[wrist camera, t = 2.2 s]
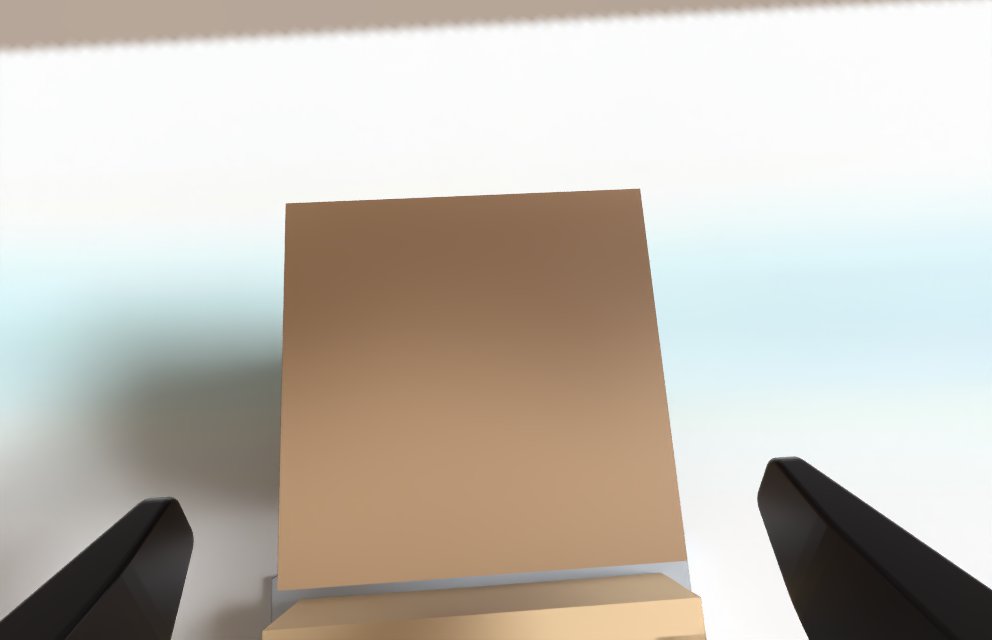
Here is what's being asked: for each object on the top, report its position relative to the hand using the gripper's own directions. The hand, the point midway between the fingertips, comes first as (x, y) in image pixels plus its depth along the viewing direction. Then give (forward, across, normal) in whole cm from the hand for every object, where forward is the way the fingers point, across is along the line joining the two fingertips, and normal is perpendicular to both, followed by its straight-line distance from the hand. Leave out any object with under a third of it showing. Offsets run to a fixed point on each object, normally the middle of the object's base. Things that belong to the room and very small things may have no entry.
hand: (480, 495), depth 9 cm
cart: (+8, 0, +6) cm, 9 cm away
